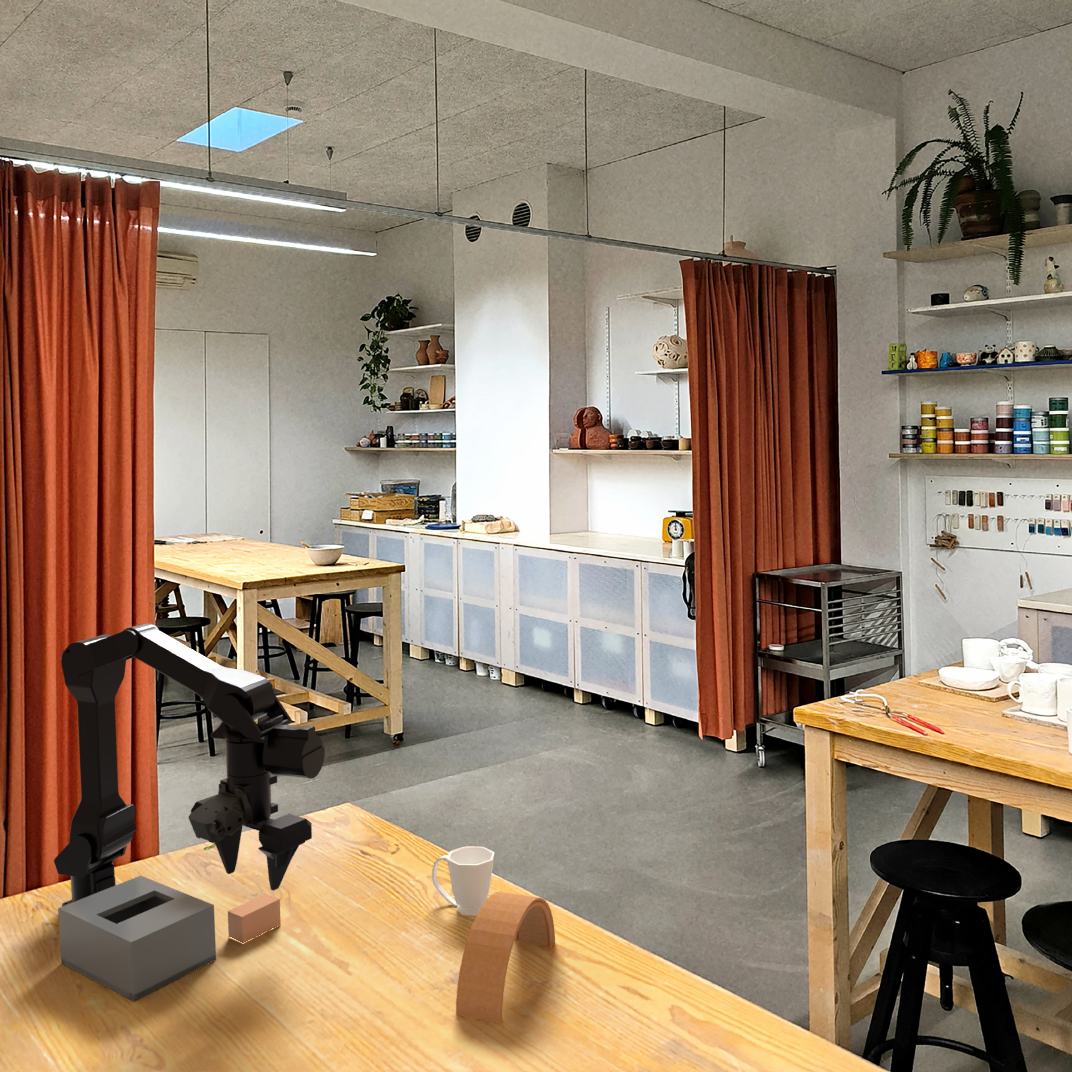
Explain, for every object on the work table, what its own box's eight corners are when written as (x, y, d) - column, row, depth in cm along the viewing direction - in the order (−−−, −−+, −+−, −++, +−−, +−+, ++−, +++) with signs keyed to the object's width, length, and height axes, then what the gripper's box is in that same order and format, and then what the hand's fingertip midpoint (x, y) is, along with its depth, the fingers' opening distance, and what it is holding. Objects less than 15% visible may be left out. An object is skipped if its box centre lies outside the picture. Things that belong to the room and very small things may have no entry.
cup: (480, 924, 144) (479, 868, 143) (420, 910, 148) (419, 856, 148) (504, 903, 150) (504, 850, 149) (446, 890, 155) (445, 838, 154)
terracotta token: (228, 939, 141) (227, 911, 140) (266, 920, 146) (265, 893, 145) (243, 945, 139) (242, 916, 138) (280, 926, 144) (279, 899, 144)
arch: (556, 944, 138) (556, 873, 137) (499, 1024, 120) (498, 942, 119) (516, 937, 140) (515, 867, 139) (454, 1015, 122) (452, 934, 121)
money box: (61, 963, 134) (58, 908, 133) (143, 927, 144) (140, 875, 143) (134, 1001, 125) (131, 942, 124) (216, 960, 135) (213, 904, 134)
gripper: (155, 774, 139) (159, 885, 140) (245, 801, 128) (249, 922, 130) (223, 752, 148) (227, 857, 149) (313, 777, 137) (316, 889, 139)
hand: (252, 881), depth 142 cm, fingers open, 9 cm apart
